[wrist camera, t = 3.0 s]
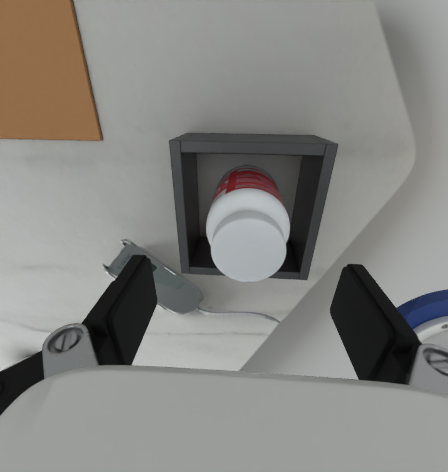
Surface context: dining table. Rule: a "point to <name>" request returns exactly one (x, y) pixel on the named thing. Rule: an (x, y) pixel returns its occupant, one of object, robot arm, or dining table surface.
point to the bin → (310, 146)
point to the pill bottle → (247, 225)
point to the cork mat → (44, 73)
